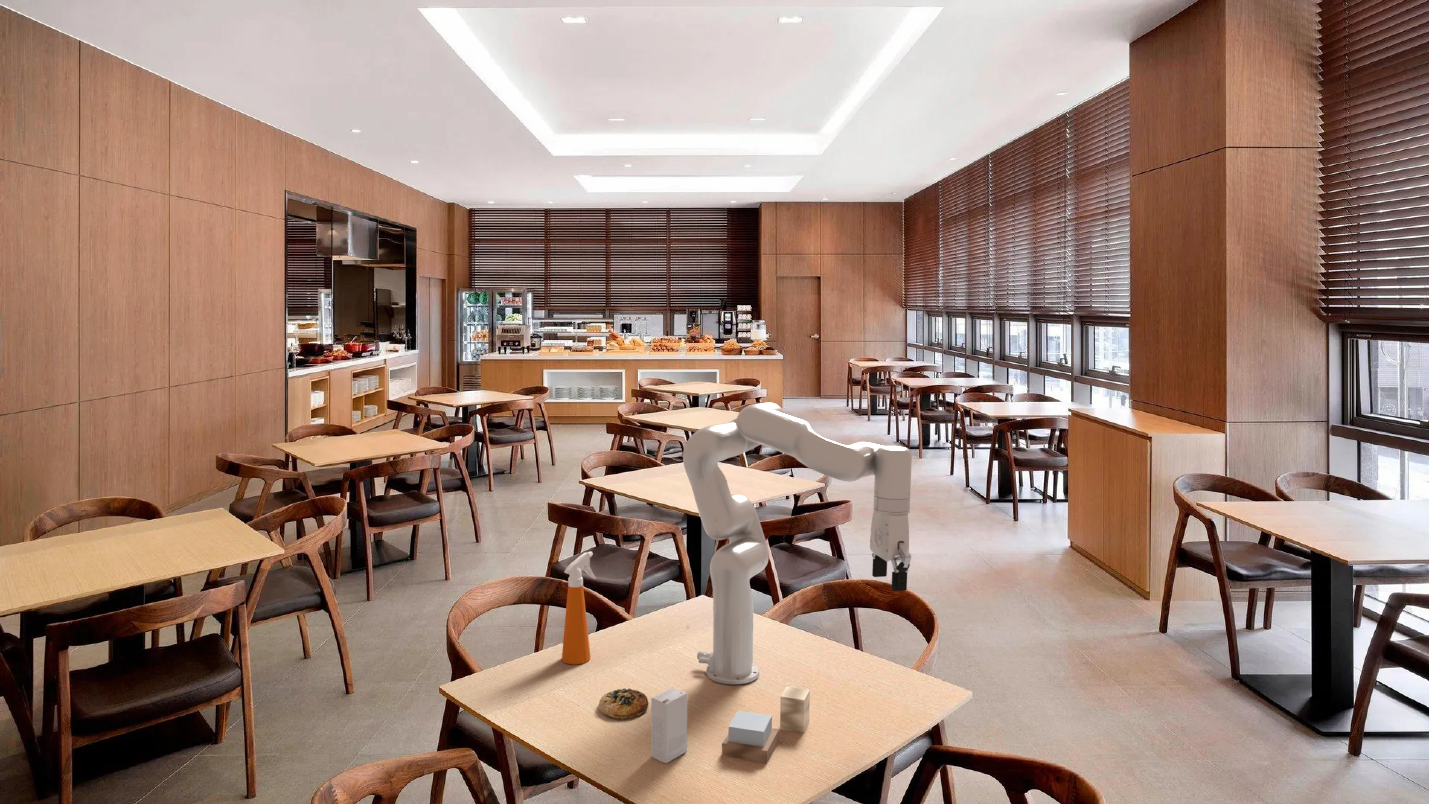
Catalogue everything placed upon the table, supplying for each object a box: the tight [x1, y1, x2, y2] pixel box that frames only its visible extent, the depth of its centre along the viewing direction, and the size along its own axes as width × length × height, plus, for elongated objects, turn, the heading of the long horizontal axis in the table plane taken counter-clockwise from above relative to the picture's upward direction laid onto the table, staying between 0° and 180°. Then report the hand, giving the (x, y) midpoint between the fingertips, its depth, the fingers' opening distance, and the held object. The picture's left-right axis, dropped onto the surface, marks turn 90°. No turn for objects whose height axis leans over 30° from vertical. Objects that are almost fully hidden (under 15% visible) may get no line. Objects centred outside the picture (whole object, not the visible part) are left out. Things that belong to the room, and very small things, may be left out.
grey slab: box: [727, 710, 773, 747], centre depth 160 cm, size 7×7×3 cm
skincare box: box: [650, 687, 688, 764], centre depth 157 cm, size 6×4×12 cm
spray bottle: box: [561, 551, 598, 666], centre depth 204 cm, size 7×11×26 cm, turn 144°
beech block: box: [779, 686, 811, 734], centre depth 169 cm, size 5×5×7 cm
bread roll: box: [598, 687, 649, 720], centre depth 177 cm, size 11×11×5 cm
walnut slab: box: [721, 727, 780, 764], centre depth 160 cm, size 9×9×3 cm
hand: (889, 583), depth 175 cm, fingers open, 9 cm apart
